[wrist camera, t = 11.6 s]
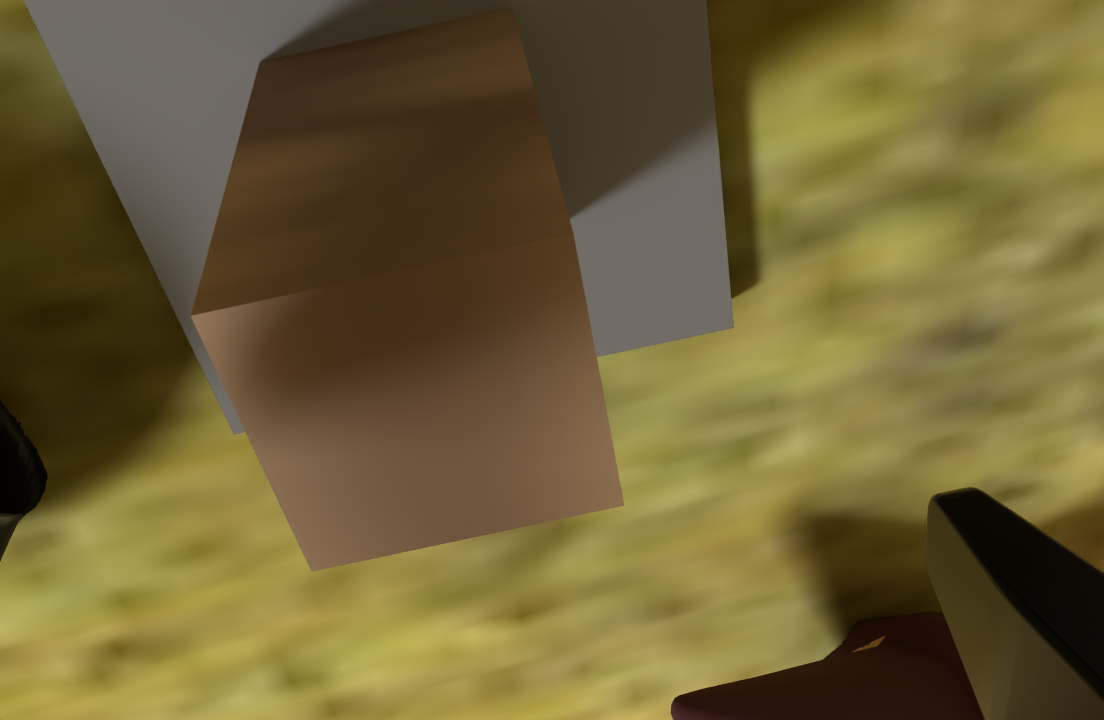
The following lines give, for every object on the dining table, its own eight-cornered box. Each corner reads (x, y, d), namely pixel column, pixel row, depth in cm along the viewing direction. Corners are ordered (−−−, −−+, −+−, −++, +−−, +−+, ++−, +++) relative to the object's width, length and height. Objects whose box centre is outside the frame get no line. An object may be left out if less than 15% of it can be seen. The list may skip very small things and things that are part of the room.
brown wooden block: (335, 274, 19) (311, 571, 13) (259, 61, 16) (191, 315, 11) (555, 227, 19) (624, 505, 13) (511, 6, 16) (573, 234, 11)
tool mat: (238, 408, 21) (233, 434, 21) (-5, -110, 15) (-23, -96, 15) (723, 305, 21) (733, 327, 21) (673, -259, 15) (686, -251, 14)
